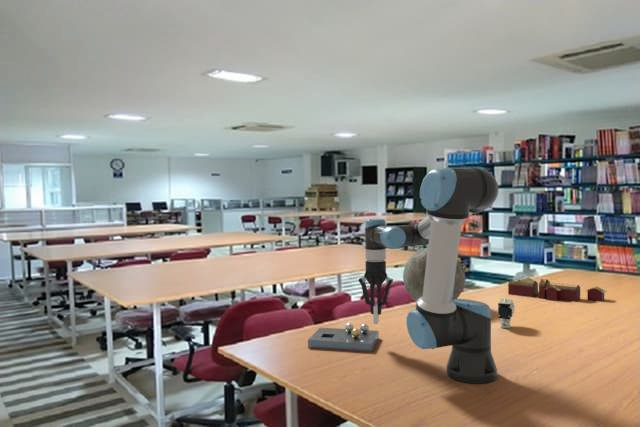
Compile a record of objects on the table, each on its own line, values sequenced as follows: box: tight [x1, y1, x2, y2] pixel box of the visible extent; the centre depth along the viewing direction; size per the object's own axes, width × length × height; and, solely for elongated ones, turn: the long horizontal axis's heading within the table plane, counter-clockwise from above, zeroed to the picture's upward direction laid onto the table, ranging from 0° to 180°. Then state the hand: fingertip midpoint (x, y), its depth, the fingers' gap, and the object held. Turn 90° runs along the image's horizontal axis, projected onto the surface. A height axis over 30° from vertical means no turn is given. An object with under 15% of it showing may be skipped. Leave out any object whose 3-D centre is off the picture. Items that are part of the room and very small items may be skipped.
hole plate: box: [307, 327, 380, 353], centre depth 185 cm, size 17×24×3 cm
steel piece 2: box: [359, 323, 370, 333], centre depth 188 cm, size 3×3×3 cm
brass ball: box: [351, 327, 360, 338], centre depth 182 cm, size 3×3×3 cm
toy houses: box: [507, 277, 607, 303], centre depth 258 cm, size 45×20×10 cm, turn 49°
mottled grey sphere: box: [402, 247, 466, 303], centre depth 241 cm, size 30×30×30 cm
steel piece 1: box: [344, 322, 355, 332], centre depth 190 cm, size 3×3×3 cm
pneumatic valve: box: [497, 298, 515, 330], centre depth 202 cm, size 6×12×12 cm, turn 152°
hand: (376, 322), depth 180 cm, fingers closed
